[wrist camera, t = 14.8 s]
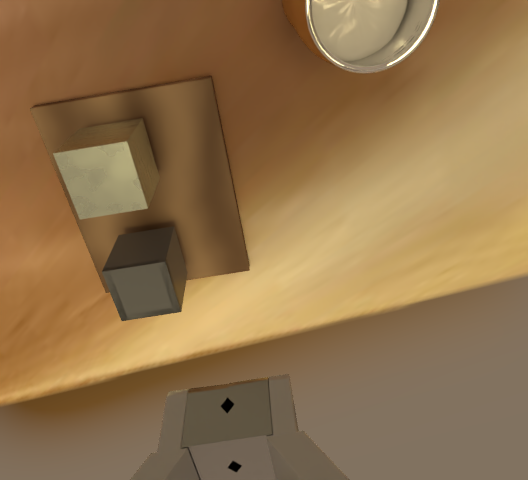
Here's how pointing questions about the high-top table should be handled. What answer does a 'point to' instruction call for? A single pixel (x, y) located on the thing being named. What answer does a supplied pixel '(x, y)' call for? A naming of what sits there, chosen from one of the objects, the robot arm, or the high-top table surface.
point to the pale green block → (108, 168)
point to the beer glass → (362, 30)
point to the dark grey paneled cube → (146, 274)
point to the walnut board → (163, 172)
